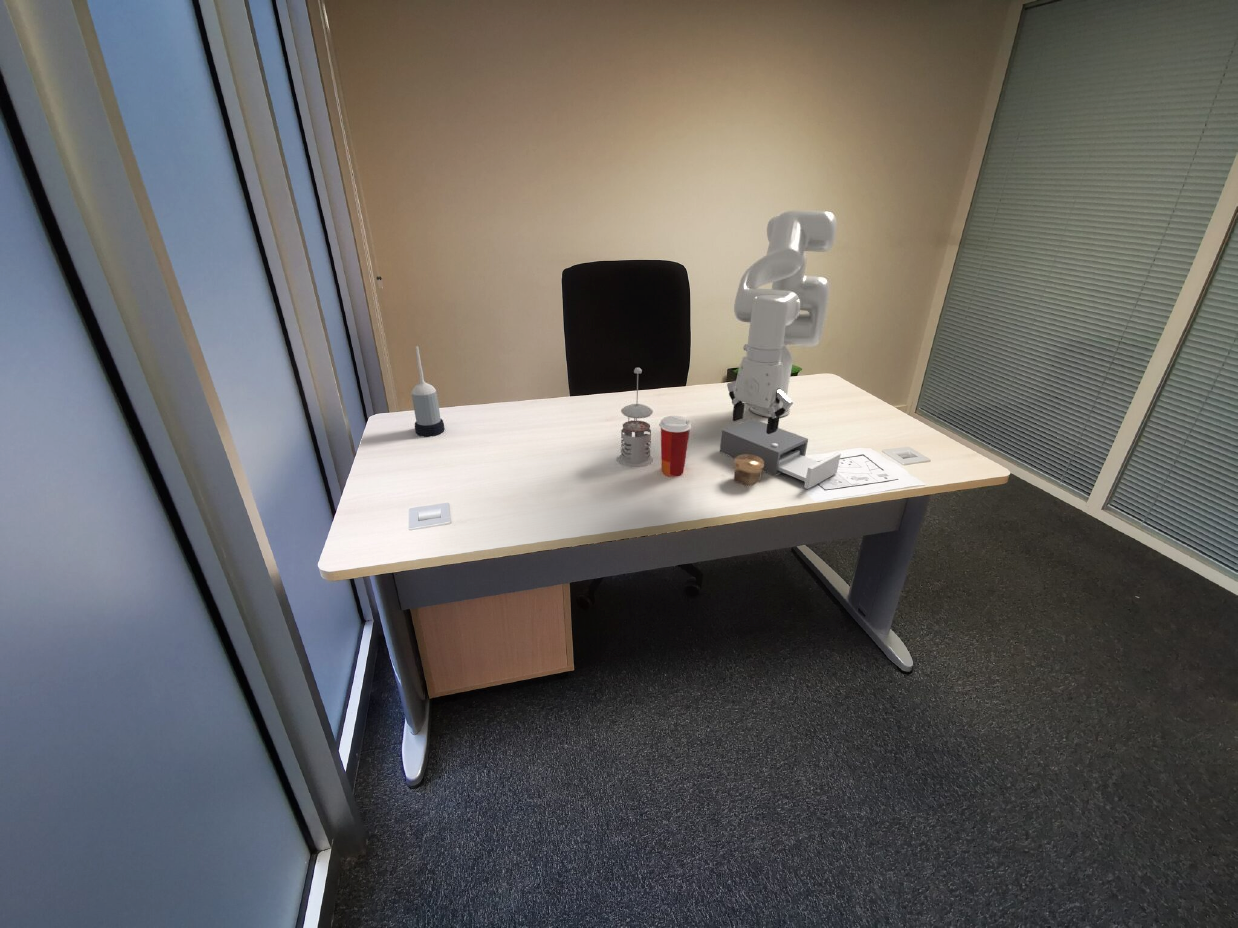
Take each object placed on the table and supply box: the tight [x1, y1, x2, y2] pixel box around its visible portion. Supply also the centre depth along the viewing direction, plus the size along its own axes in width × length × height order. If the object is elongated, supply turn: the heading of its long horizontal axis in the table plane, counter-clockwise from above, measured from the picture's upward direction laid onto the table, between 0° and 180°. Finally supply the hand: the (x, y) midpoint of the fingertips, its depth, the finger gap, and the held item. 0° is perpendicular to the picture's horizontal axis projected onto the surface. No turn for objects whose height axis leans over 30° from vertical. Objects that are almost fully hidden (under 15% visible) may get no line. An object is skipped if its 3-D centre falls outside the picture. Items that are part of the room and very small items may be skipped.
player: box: [719, 418, 809, 477], centre depth 144 cm, size 18×13×7 cm
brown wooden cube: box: [733, 469, 762, 488], centre depth 132 cm, size 4×4×4 cm
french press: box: [616, 367, 655, 469], centre depth 138 cm, size 10×12×25 cm
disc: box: [733, 454, 764, 475], centre depth 131 cm, size 7×7×2 cm
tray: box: [778, 450, 841, 490], centre depth 138 cm, size 18×13×5 cm
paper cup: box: [658, 415, 692, 478], centre depth 134 cm, size 8×8×14 cm
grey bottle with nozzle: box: [411, 346, 446, 438], centre depth 153 cm, size 8×8×25 cm
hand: (754, 426), depth 126 cm, fingers open, 9 cm apart
